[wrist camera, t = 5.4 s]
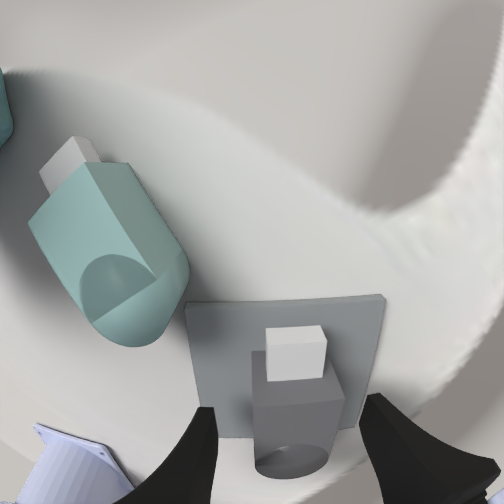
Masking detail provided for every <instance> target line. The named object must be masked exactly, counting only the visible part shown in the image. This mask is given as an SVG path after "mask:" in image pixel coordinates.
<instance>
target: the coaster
mask: <svg viewBox="0 0 504 504" xmlns="http://www.w3.org/2000/svg"><path fill="white" fill-rule="evenodd" d="M385 300H386V299H385V298H384V297H383V296H382V295H381V294H375V295H363V296H350V297H336V298H320V299H302V300H280V301H252V302H187V303H186V305H185V307H184V312H185V319H186V326H187V333H188V340H189V346H190V352H191V358H192V364H193V370H194V375H195V381H196V386H197V391H198V396H199V401H200V406H201V407H214V411H215V417H216V423H217V429H218V434H219V436H218V438H254V433H253V407H252V360H251V351H265V350H266V328H282V327H301V326H316V325H320V326H321V328H322V331H323V333H324V335H325V337H326V340H327V346H326V351H327V354H328V356H329V359H330V361H331V363H332V366H333V368H334V371H335V373H336V376H337V378H338V381H339V383H340V386H341V388H342V391H343V393H344V396H345V403H344V407H343V410H342V414H341V418H340V422H339V425H338V429H337V430H341V429H347V428H353V427H355V424H356V421H357V418H358V415H359V412H360V408H361V405H362V402H363V398H364V395H365V392H366V388H367V384H368V381H369V377H370V373H371V369H372V365H373V361H374V357H375V352H376V348H377V343H378V338H379V334H380V329H381V323H382V318H383V312H384V307H385Z"/></svg>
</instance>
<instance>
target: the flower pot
mask: <svg viewBox="0 0 504 504" xmlns="http://www.w3.org/2000/svg"><path fill="white" fill-rule="evenodd" d="M12 132H13V120H12V117H11V113H10V109H9V105H8V100H7V96H6V90H5V85H4V78H3V73H2V70H1V68H0V148H1V147H2V145H3V144H4V143H5V142H6V141H7V140H8V138H9V137H10V136H11V134H12Z"/></svg>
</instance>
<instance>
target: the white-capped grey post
mask: <svg viewBox="0 0 504 504" xmlns="http://www.w3.org/2000/svg"><path fill="white" fill-rule="evenodd" d="M326 346H327V340H326V337H325V335H324V333H323V331H322V328H321V326H320V325H316V326H301V327H282V328H266V350H265V351H251V360H252V407H253V433H254V458H255V469H256V470H257V472H259V473H260V474H261V475H263V476H266V477H269V478H274V479H294V478H299V477H303V476H306V475H309V474H312V473H314V472H316V471H317V470H319V469H320V468H322V467H323V466H324V465H325V464H326V463H327V461H328V458H329V455H330V452H331V449H332V446H333V442H334V439H335V436H336V432H337V429H338V425H339V422H340V418H341V414H342V410H343V407H344V403H345V396H344V393H343V391H342V388H341V386H340V383H339V381H338V378H337V376H336V373H335V371H334V368H333V366H332V363H331V361H330V359H329V356H328V354H327V351H326Z"/></svg>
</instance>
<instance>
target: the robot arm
mask: <svg viewBox="0 0 504 504" xmlns="http://www.w3.org/2000/svg"><path fill="white" fill-rule="evenodd" d="M33 427H34V429H35V430H36V432H37V433H38V435H39V436H40V438H41V439H42V440H43V442H44V443H45V444H46V446H45V448H44V450H43V452H42V453H41V455H40V457H39V458H38V460H37V462H36V464H35V466H34V468H33V469H32V471H31V473H30V475H29V477H28V478H27V480H26V482H25V484H24V486H23V488H22V490H21V492H20V494H19V496H18V498H17V500H16V502H15V504H210V498H211V490H212V485H213V479H214V473H215V467H216V461H217V455H218V436H219V434H218V429H217V423H216V417H215V411H214V407H199V408H197V411H196V413H195V415H194V417H193V419H192V421H191V423H190V424H189V426H188V428H187V430H186V431H185V433H184V434H183V436H182V437H181V439H180V440H179V442H178V443H177V445H176V446H175V448H174V449H173V450H172V451H171V453H170V454H169V455H168V457H167V458H166V459H165V460H164V461H163V463H162V464H161V465H160V466H159V467H158V468H157V469H156V470H155V471H154V472H153V473H152V474H151V475H150V476H149V477H148V478H147V479H146V480H145V481H144V482H142V483H141V484H140V485H139V486H138V487H136V488H134V487H133V486H132V484H131V483H130V482H129V480H128V479H127V477H126V476H125V475H124V473H123V472H122V470H121V469H120V468H119V466H118V465H117V463H116V462H115V460H114V459H113V457H112V456H111V454H110V453H109V451H108V449H107V448H106V447H105V446H103V445H101V444H98V443H94V442H90V441H87V440H83V439H80V438H76V437H73V436H70V435H67V434H64V433H61V432H58V431H55V430H52V429H50V428H47V427H44V426H42V425H39V424H36V423H35V424H34V426H33ZM359 427H360V431H361V435H362V439H363V442H364V445H365V447H366V450H367V453H368V455H369V457H370V460H371V462H372V465H373V467H374V470H375V472H376V475H377V478H378V481H379V484H380V488H381V492H382V497H383V502H384V504H504V488H503V489H501V490H500V491H499V492H497V493H496V494H495V495H493V496H492V497H491V498H490V499H489V500H487V501H486V499H485V496H486V495H487V493H486V490H485V489H486V488H487V487H488V486H490V485H491V483H493V482H494V481H495V479H496V478H497V477H498V476H499V475H500V473H501V470H500V468H499V467H498V465H497V463H496V462H495V461H494V459H491V458H486V457H481V456H477V455H473V454H470V453H467V452H464V451H462V450H459V449H456V448H454V447H452V446H450V445H448V444H446V443H444V442H442V441H440V440H438V439H437V438H435V437H433V436H432V435H430V434H428V433H427V432H426V431H424V430H423V429H421V428H420V427H419V426H417V425H416V424H415V423H413V422H412V421H411V420H410V419H408V418H407V417H406V416H405V415H404V414H402V413H401V412H400V411H399V410H398V409H397V408H396V407H395V406H394V405H392V404H391V403H390V402H389V401H388V400H387V399H386V398H385V397H384V396H383V395H381V394H380V393H376V394H371V395H367V399H366V402H365V405H364V408H363V412H362V415H361V418H360V421H359ZM0 504H13V503H10V502H9V503H7V502H5V501H3V502H0Z"/></svg>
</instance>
